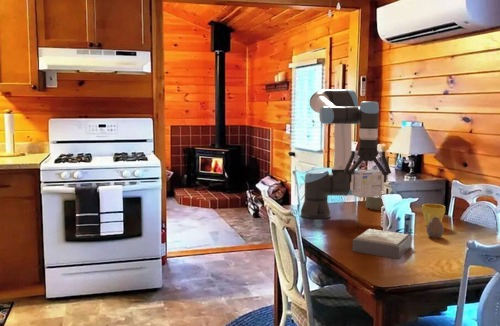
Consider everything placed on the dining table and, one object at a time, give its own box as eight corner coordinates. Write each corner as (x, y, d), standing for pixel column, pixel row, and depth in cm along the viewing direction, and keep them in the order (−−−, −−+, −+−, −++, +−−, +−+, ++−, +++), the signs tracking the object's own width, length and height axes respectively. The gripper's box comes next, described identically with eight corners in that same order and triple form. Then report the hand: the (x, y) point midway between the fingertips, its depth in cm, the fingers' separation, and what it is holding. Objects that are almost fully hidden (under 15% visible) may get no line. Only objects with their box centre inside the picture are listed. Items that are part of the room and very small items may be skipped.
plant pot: (417, 223, 238) (418, 203, 237) (438, 223, 239) (439, 203, 238) (426, 228, 228) (428, 208, 227) (448, 228, 229) (449, 207, 227)
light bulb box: (371, 193, 213) (372, 169, 212) (381, 196, 207) (382, 170, 206) (351, 195, 209) (352, 170, 207) (361, 198, 202) (361, 172, 201)
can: (388, 206, 276) (389, 194, 275) (386, 210, 265) (386, 198, 264) (367, 204, 280) (367, 192, 280) (363, 208, 269) (364, 196, 269)
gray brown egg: (442, 236, 216) (444, 216, 215) (443, 240, 210) (444, 220, 208) (426, 234, 218) (427, 215, 217) (426, 238, 212) (427, 218, 211)
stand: (352, 251, 193) (352, 237, 192) (367, 240, 208) (367, 227, 208) (398, 259, 184) (399, 245, 183) (410, 247, 199) (411, 234, 198)
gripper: (340, 139, 202) (339, 191, 204) (400, 139, 201) (398, 191, 204) (337, 138, 209) (336, 188, 211) (395, 138, 209) (393, 189, 211)
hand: (366, 190), depth 207 cm, fingers closed on light bulb box, 12 cm apart
